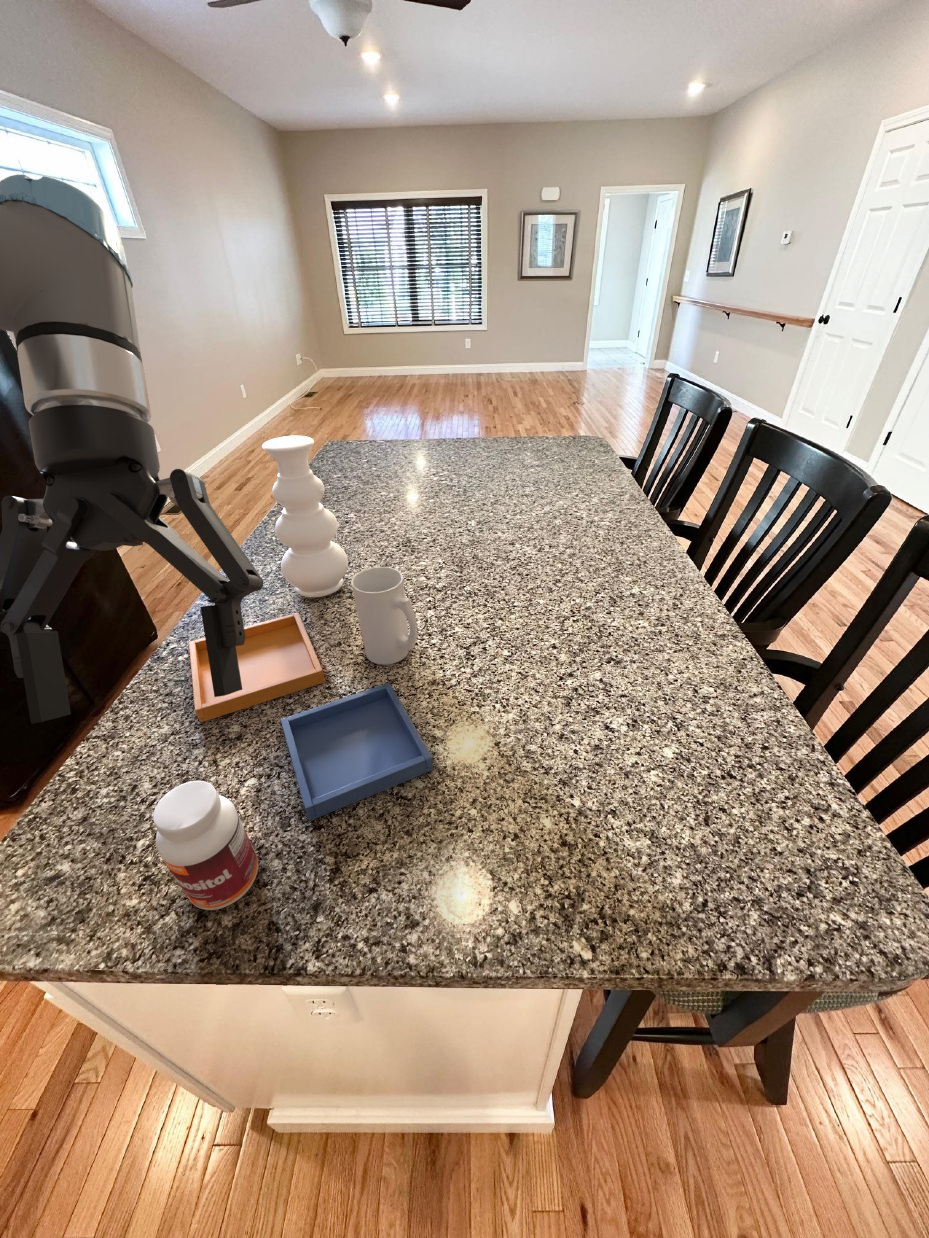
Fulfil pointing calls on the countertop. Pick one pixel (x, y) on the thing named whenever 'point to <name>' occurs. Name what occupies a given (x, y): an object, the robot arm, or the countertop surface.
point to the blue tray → (353, 749)
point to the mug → (384, 614)
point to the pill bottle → (205, 845)
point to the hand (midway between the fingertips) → (139, 706)
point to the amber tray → (258, 667)
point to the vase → (305, 521)
